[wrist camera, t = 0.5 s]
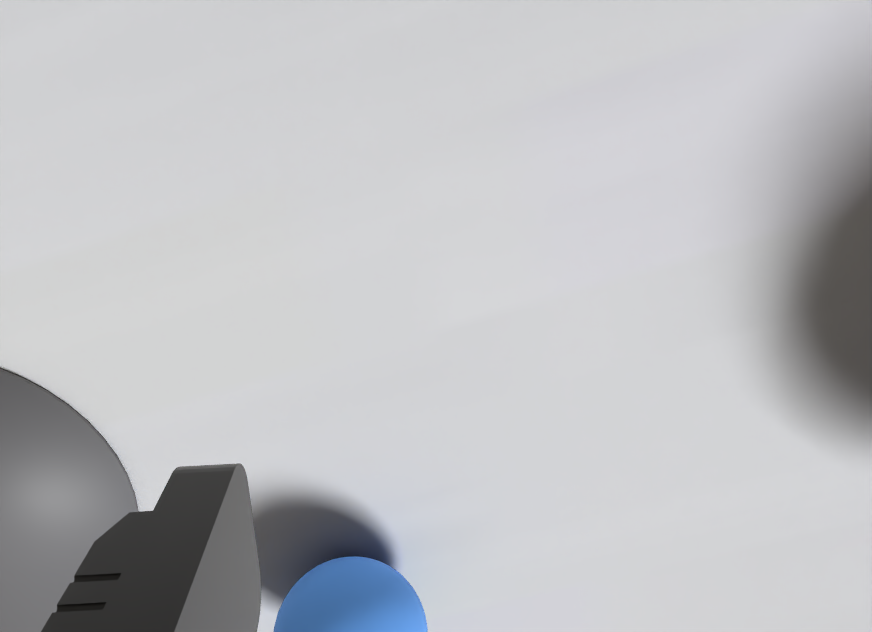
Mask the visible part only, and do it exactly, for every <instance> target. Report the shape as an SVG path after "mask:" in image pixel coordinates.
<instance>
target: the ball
mask: <svg viewBox="0 0 872 632" xmlns="http://www.w3.org/2000/svg"><path fill="white" fill-rule="evenodd" d="M274 632H427V623H426V617H425V613H424V610H423V607H422V604H421V602H420V599H419V598H418V596H417V594H416V592H415V590H414V589H413V587H412V586H411V585H410V584H409V582H408V581H407V580H406V579H405V578H404V577H403V576H402V575H401V574H400V573H399V572H397V571H396V570H394V569H393V568H392V567H390V566H388V565H387V564H385V563H383V562H380V561H378V560H374V559H371V558H366V557H357V556H350V557H341V558H336V559H332V560H329V561H327V562H324V563H322V564H320V565H318V566H316V567H315V568H313V569H312V570H310V571H309V572H307V573H306V574H305V575H304V576H302V577H301V578H300V579H299V580H298V581H297V582H296V583H295V585H294V586H293V587H292V588H291V590H290V591H289V593H288V594H287V596H286V597H285V599H284V601H283V603H282V605H281V607H280V610H279V612H278V615H277V619H276V622H275V627H274Z"/></svg>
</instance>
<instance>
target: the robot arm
mask: <svg viewBox="0 0 872 632" xmlns="http://www.w3.org/2000/svg"><path fill="white" fill-rule="evenodd" d="M260 604H261V576H260V566H259V559H258V552H257V545H256V538H255V531H254V523H253V516H252V509H251V502H250V495H249V487H248V481H247V476H246V472H245V469H244V467H243V466H242V464H223V465H204V466H185V467H177V468H176V469H175V470H174V471H173V473H172V475H171V477H170V479H169V481H168V483H167V485H166V487H165V489H164V490H163V492H162V494H161V496H160V498H159V500H158V502H157V504H156V506H155V508H154V510H153V511H144V512H129V513H128V514H127V515H126V516H124V517H123V518H122V519H121V520H120V521H118V522H117V523H116V524H115V525H114V526H112V527H111V528H110V529H109V530H108V531H106V532H105V533H104V534H103V535H102V536H100V537H99V538H98V539H97V540H96V541H94V543H93V545H92V546H91V548H90V550H89V551H88V553H87V555H86V557H85V558H84V560H83V562H82V563H81V565H80V567H79V568H78V570H77V572H76V573H75V575H74V582H73V583H70V584H69V585H68V587H67V589H66V590H65V592H64V594H63V595H62V597H61V599H60V600H59V602H58V604H57V611H56V612H55V613H52V614H51V616H50V617H49V619H48V621H47V622H46V624H45V626H44V627H43V629H42V631H41V632H257V627H258V622H259V615H260Z"/></svg>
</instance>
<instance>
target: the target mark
mask: <svg viewBox="0 0 872 632" xmlns="http://www.w3.org/2000/svg"><path fill="white" fill-rule="evenodd" d="M129 512H139V511H138V506H137V502H136V497H135V493H134V490H133V488H132V485H131V482H130V480H129V477H128V475H127V473H126V471H125V469H124V467H123V466H122V464H121V462H120V460H119V458H118V457H117V455H116V454H115V452H114V451H113V450H112V448H111V447H110V446H109V444H108V443H107V442H106V440H105V439H104V438H103V437H102V436H101V435H100V434H99V432H98V431H97V430H96V429H95V428H94V427H93V426H92V425H91V424H90V423H89V422H88V421H87V420H86V419H85V418H83V417H82V416H81V415H80V414H79V413H78V412H76V411H75V410H74V409H73V408H72V407H70V406H69V405H68V404H66V403H65V402H63V401H62V400H60V399H59V398H57V397H56V396H54V395H53V394H52V393H50V392H49V391H47V390H45V389H43V388H41V387H40V386H38V385H36V384H34V383H32V382H30V381H28V380H26V379H25V378H22V377H20V376H18V375H15V374H13V373H10V372H8V371H5V370H3V369H0V632H41V631H42V629H43V627H44V626H45V624H46V622H47V621H48V619H49V617H50V616H51V614H52V613H55V612H56V611H57V604H58V602H59V600H60V599H61V597H62V595H63V594H64V592H65V590H66V589H67V587H68V585H69V584H70V583H73V582H74V575H75V573H76V572H77V570H78V568H79V567H80V565H81V563H82V562H83V560H84V558H85V557H86V555H87V553H88V551H89V550H90V548H91V546H92V545H93V543H94V541H96V540H97V539H98V538H99V537H100V536H102V535H103V534H104V533H105V532H106V531H108V530H109V529H110V528H111V527H112V526H114V525H115V524H116V523H117V522H118V521H120V520H121V519H122V518H123V517H124V516H126V515H127V514H128V513H129Z"/></svg>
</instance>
